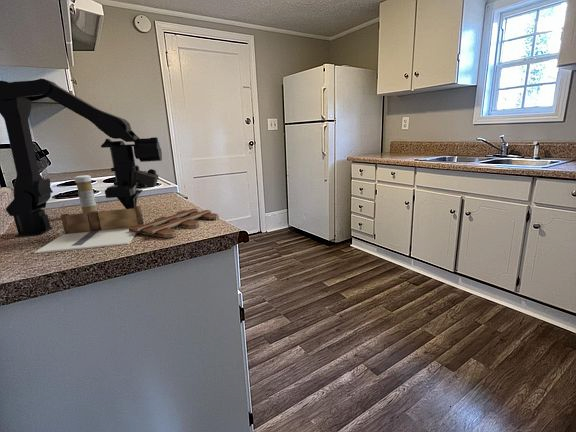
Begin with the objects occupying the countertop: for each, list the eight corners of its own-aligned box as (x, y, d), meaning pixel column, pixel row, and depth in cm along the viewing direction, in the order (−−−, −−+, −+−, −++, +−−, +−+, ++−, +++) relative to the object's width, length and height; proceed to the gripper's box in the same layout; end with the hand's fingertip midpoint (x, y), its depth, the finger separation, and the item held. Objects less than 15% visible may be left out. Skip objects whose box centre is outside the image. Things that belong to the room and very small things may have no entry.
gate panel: (101, 229, 86) (97, 210, 84) (103, 228, 87) (99, 208, 86) (143, 226, 88) (139, 207, 86) (144, 224, 89) (141, 205, 88)
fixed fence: (63, 234, 84) (58, 216, 82) (67, 231, 86) (62, 213, 85) (99, 231, 85) (95, 212, 84) (102, 228, 88) (99, 210, 86)
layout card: (34, 253, 71) (34, 251, 71) (69, 231, 87) (68, 230, 87) (127, 244, 75) (127, 242, 75) (144, 224, 91) (144, 223, 91)
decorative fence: (125, 232, 83) (166, 239, 76) (124, 226, 82) (165, 233, 76) (186, 212, 103) (223, 216, 96) (186, 207, 102) (222, 211, 96)
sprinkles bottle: (85, 214, 108) (76, 175, 104) (99, 212, 109) (91, 174, 106) (81, 217, 103) (72, 177, 100) (96, 215, 105) (88, 176, 101)
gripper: (144, 164, 81) (153, 221, 85) (160, 159, 99) (167, 206, 103) (98, 166, 79) (110, 224, 83) (123, 160, 97) (132, 208, 101)
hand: (133, 215), depth 93 cm, fingers closed
